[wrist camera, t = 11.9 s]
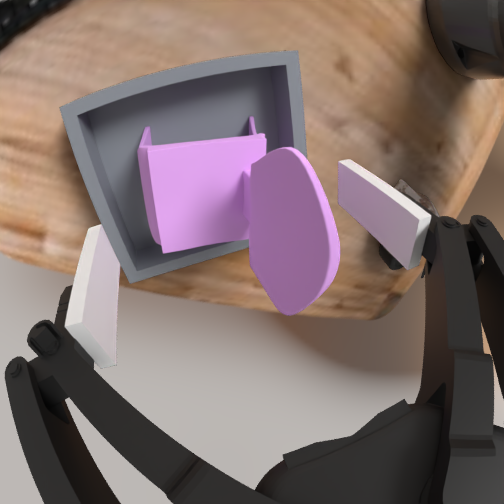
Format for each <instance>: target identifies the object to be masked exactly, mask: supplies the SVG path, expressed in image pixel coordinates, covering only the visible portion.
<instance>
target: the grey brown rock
mask: <svg viewBox="0 0 504 504" xmlns="http://www.w3.org/2000/svg"><path fill="white" fill-rule="evenodd" d="M394 189H396V190H397V191H400V192H403V193H405V194H407V195H409V196H411V197H412V198H414V199H415V200H416V201H418V202H419V203H421V205H423V206H425V207H426V208H427V209H429V210H430V211H431V212H433V213H434V214H435V215H436V216H438V217H440V216H439V214H438V212H437V210H436V209H435V207H434V205H433V204H432V202H431V201H430V200H429V199H428V198H427V197H426V196H424V195H423V194H421V193H416V192H415V191H414V190H413V189H412V188H411V187H410V186H409V185H408V184H407V183H405V182H404V181H403V180H402V179H400V180H399V181H398V183H397V184H396V186H395V188H394ZM379 254H380V256H381V258H382V259H383V260H384V262H385V263H386V264H387V265H388V267H389V268H390V269H392V270H397V269H400V268H402V267H404V266H403V265H402V264H401V263H400V262H399V261H398V260H397V259H396V258H395V257H394V256H393V255H392V254H391V253H390V252H389V251H388V250H387V249H386V248H385V247H384V246H383V245H382V244H381V246H380V250H379Z"/></svg>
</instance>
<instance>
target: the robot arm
mask: <svg viewBox="0 0 504 504" xmlns="http://www.w3.org/2000/svg"><path fill="white" fill-rule="evenodd" d="M426 5H427V14H428V20H429V24H430V28H431V31H432V35H433V37H434V40H435V43H436V45H437V47H438V49H439V51H440V53H441V55H442V56H443V58H444V60H445V61H446V62H447V64H448V65H449V66H450V67H451V68H452V69H453V70H454V71H455V72H457V73H458V74H460V75H463V76H467V77H470V78H474V79H479V80H483V79H503V78H504V0H426ZM338 204H339V205H340V206H341V207H343V208H344V209H345V210H346V211H347V212H348V213H349V214H350V215H351V216H352V217H353V218H355V219H356V220H357V221H358V222H359V223H360V224H361V225H362V226H363V227H364V228H365V229H366V230H367V231H368V232H369V233H370V234H372V235H373V236H374V237H375V238H376V239H377V240H378V241H379V242H380V243H381V244H382V245H383V246H384V247H385V248H386V249H387V250H388V251H389V252H390V253H391V254H392V255H393V256H394V257H395V258H396V259H397V260H398V261H399V262H400V263H401V264H402V265H403V266H404V267H405V268H406V269H407V270H409V269H412V268H414V267H416V266H419V263H420V260H421V256H422V255H423V256H424V257H425V258H426V259H427V260H426V263H425V266H424V269H423V273H422V276H421V278H423V277H424V275H425V287H426V317H425V342H424V357H423V369H422V378H421V386H420V391H419V393H418V396H417V398H416V401H415V403H414V404H407V402H406V401H405V399H403V400H402V401H400V402H398V403H397V404H395V405H393V406H391V407H389V408H388V409H386V410H384V411H382V412H380V413H378V414H377V415H376V416H375V417H374V418H373V419H372V420H370V421H369V422H368V423H367V424H366V425H365V426H363V427H362V428H361V429H360V430H359V431H357V432H356V433H355V434H354V435H352V436H349V437H344V438H339V439H334V440H328V441H323V442H316V443H313V444H311V445H308V446H306V447H303V448H300V449H298V450H295V451H292V452H289V453H287V454H283V459H284V460H283V461H281V462H280V463H278V464H277V465H276V466H274V467H273V468H272V469H270V470H269V471H268V472H267V474H265V475H264V477H263V478H262V479H261V481H260V482H259V484H258V485H257V487H256V489H255V490H253V489H251V488H249V487H247V486H245V485H244V484H242V483H240V482H238V481H237V480H235V479H233V478H232V477H230V476H228V475H226V474H225V473H223V472H222V471H220V470H218V469H217V468H215V467H214V466H212V465H210V464H209V463H207V462H206V461H204V460H203V459H201V458H200V457H198V456H196V455H195V454H194V453H192V452H191V451H189V450H188V449H186V448H185V447H184V446H182V445H181V444H179V443H178V442H177V441H175V440H174V439H173V438H171V437H170V436H169V435H167V434H166V433H165V432H163V431H162V430H161V429H159V428H158V427H157V426H156V425H154V424H153V423H152V422H151V421H150V420H148V419H147V418H146V417H145V416H144V415H142V414H141V413H140V412H139V411H138V410H137V409H135V408H134V407H133V406H132V405H131V404H130V403H129V402H127V401H126V400H125V399H124V398H123V397H122V396H121V395H120V394H119V393H117V392H116V391H115V390H114V389H113V388H112V387H111V386H110V385H109V384H108V383H107V382H106V381H105V380H104V379H103V378H102V377H101V376H100V375H99V374H98V373H97V372H96V371H95V370H94V362H95V363H96V364H97V365H98V366H99V367H100V368H106V367H111V366H115V365H117V355H116V354H117V351H116V350H117V349H116V348H117V342H116V341H117V307H118V290H119V276H120V263H119V261H118V259H117V257H116V255H115V253H114V251H113V248H112V246H111V244H110V242H109V240H108V238H107V236H106V233H105V231H104V229H103V227H102V224H100V225H97V226H94V227H91V228H89V229H88V232H87V235H86V238H85V242H84V245H83V249H82V252H81V256H80V259H79V263H78V267H77V271H76V275H75V279H74V283H73V285H71V286H68V287H66V288H65V290H64V292H63V293H62V295H61V297H60V301H59V307H58V310H57V314H56V318H55V323H54V324H53V323H52V322H51V321H50V320H42V321H40V322H38V323H37V324H36V325H34V327H33V328H32V329H31V330H30V333H29V334H28V338H27V342H28V345H29V346H30V347H31V349H32V350H33V351H34V352H35V353H36V354H37V355H38V357H36V358H34V359H33V360H31V361H29V362H27V361H26V360H25V359H24V358H23V357H16V358H14V359H12V361H10V362H9V364H8V365H7V367H6V371H5V381H6V386H7V392H8V397H9V401H10V406H11V410H12V414H13V418H14V422H15V425H16V429H17V432H18V436H19V439H20V442H21V446H22V449H23V452H24V455H25V457H26V460H27V463H28V465H29V468H30V471H31V474H32V476H33V479H34V481H35V484H36V486H37V488H38V490H39V493H40V495H41V497H42V499H43V502H44V504H121V503H120V502H119V501H118V499H117V498H116V496H115V495H114V493H113V491H112V490H111V488H110V487H109V485H108V483H107V482H106V480H105V479H104V477H103V475H102V474H101V472H100V470H99V469H98V467H97V465H96V463H95V462H94V460H93V458H92V456H91V454H90V452H89V450H88V449H87V447H86V445H85V443H84V441H83V439H82V437H81V435H80V433H79V431H78V429H77V426H76V424H75V422H74V420H73V418H72V416H71V413H70V411H69V409H68V407H67V404H66V402H65V399H67V398H68V397H70V399H71V400H72V401H73V402H74V404H75V405H76V406H77V408H78V409H79V410H80V411H81V412H82V413H83V415H84V416H85V417H86V418H87V419H88V420H89V422H90V423H91V424H92V425H93V426H94V427H95V428H96V429H97V430H98V431H99V433H100V434H101V435H102V436H103V437H104V438H105V439H106V440H107V441H108V442H109V443H110V444H111V445H112V446H113V447H114V448H115V449H116V450H117V451H118V452H119V453H120V454H121V455H122V456H123V457H124V458H125V459H126V460H127V461H129V463H131V464H132V465H133V466H134V467H135V468H136V469H137V470H138V471H140V472H141V473H142V474H143V475H144V476H145V477H146V478H148V479H149V480H150V481H151V482H152V483H154V484H155V485H156V486H157V487H158V488H160V489H161V490H162V491H163V492H164V493H165V494H166V496H167V498H168V499H169V500H170V501H171V502H172V503H173V504H504V428H503V427H500V426H496V425H493V419H494V417H493V416H494V372H493V361H494V365H495V369H496V373H497V377H498V381H499V385H500V388H501V392H502V396H503V399H504V240H503V238H502V237H501V235H500V234H499V232H498V231H497V229H496V228H495V227H494V225H493V224H492V222H490V220H488V219H487V218H486V217H484V216H480V215H473V216H472V217H471V220H470V223H469V224H464V225H461V224H460V223H459V222H458V221H457V220H455V219H454V218H451V217H448V216H442V217H438V216H436V215H435V214H434V213H433V212H431V211H430V210H429V209H427V208H426V207H425V206H423V205H421V203H419V202H418V201H416V200H415V199H414V198H412V197H411V196H409V195H407V194H405V193H403V192H400V191H397V190H396V189H394V188H393V187H392V186H390V185H389V184H387V183H386V182H384V181H383V180H381V179H380V178H378V177H377V176H375V175H374V174H372V173H371V172H369V171H368V170H366V169H364V168H363V167H361V166H360V165H358V164H357V163H355V162H353V161H352V160H350V159H347V160H342V161H338ZM483 255H484V264H483V262H482V257H483ZM481 323H482V326H483V329H484V332H485V335H486V338H487V341H488V344H489V347H490V351H491V354H492V356H491V355H490V354H485V353H484V351H483V338H482V328H481ZM492 358H493V360H492Z"/></svg>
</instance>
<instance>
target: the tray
mask: <svg viewBox="0 0 504 504" xmlns="http://www.w3.org/2000/svg"><path fill="white" fill-rule="evenodd" d="M59 108H60V111H61V115H62V118H63V121H64V125H65V128H66V131H67V134H68V137H69V140H70V144H71V147H72V149H73V152H74V155H75V158H76V161H77V164H78V167H79V169H80V172H81V175H82V177H83V180H84V183H85V185H86V188H87V190H88V193H89V195H90V198H91V200H92V203H93V205H94V208H95V210H96V212H97V215H98V217H99V219H100V222H101V224H102V226H103V229H104V231H105V233H106V235H107V237H108V240H109V242H110V244H111V246H112V248H113V250H114V252H115V254H116V257H117V259H118V261H119V263H120V265H121V267H122V269H123V271H124V273H125V275H126V277H127V279H128V281H129V282H130V284H131V283H134V282H137V281H141V280H144V279H147V278H150V277H154V276H157V275H160V274H163V273H167V272H170V271H173V270H176V269H180V268H183V267H186V266H189V265H193V264H196V263H199V262H203V261H206V260H209V259H212V258H216V257H219V256H222V255H226V254H229V253H232V252H235V251H239V250H242V249H245V248H249V239H246V240H238V241H230V242H222V243H216V244H210V245H205V246H200V247H195V248H191V249H186V250H181V251H175V252H170V253H164V254H163V251H162V246H161V245H159V244H157V243H156V242H155V240H154V238H153V236H152V234H151V231H150V227H149V223H148V218H147V213H146V207H145V201H144V195H143V189H142V182H141V176H140V169H139V161H138V154H137V150H138V148H139V145H140V142H141V139H142V135H143V132H144V129H145V127H147V126H150V132H151V142H152V146H153V145H165V144H173V143H182V142H192V141H202V140H212V139H221V138H230V137H240V136H249V116H253V117H254V124H255V129H256V133H257V134H259V133H263V134H265V138H266V139H267V140H266V154H268V153H269V152H271V151H273V150H276V149H278V148H283V147H292V148H295V149H297V150H298V151H299V152H301V153H302V154H303V155H304V156H305V158H306V159H307V149H306V134H305V120H304V107H303V95H302V84H301V74H300V64H299V55H298V51H276V52H265V53H255V54H247V55H239V56H232V57H226V58H220V59H214V60H208V61H203V62H198V63H193V64H189V65H184V66H180V67H175V68H171V69H167V70H163V71H159V72H156V73H152V74H148V75H145V76H142V77H138V78H135V79H132V80H129V81H125V82H122V83H119V84H116V85H113V86H111V87H108V88H105V89H102V90H100V91H97V92H94V93H92V94H89V95H87V96H84V97H82V98H79V99H77V100H74V101H72V102H70V103H68V104H66V105H64V106H62V107H59Z"/></svg>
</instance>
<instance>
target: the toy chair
mask: <svg viewBox="0 0 504 504" xmlns="http://www.w3.org/2000/svg"><path fill="white" fill-rule="evenodd" d="M266 140H267V139H266V138H265V134H263V133H259V134H257V133H256V129H255V124H254V117H253V116H249V136H240V137H230V138H221V139H212V140H202V141H192V142H182V143H173V144H165V145H153V146H152V142H151V132H150V126H147V127H145V129H144V132H143V135H142V139H141V142H140V145H139V148H138V150H137V154H138V161H139V169H140V176H141V182H142V189H143V195H144V201H145V207H146V213H147V218H148V223H149V227H150V231H151V234H152V236H153V238H154V240H155V242H156V243H157V244H159V245H161V246H162V251H163V254H164V253H170V252H175V251H181V250H186V249H191V248H195V247H200V246H205V245H210V244H216V243H222V242H230V241H238V240H246V239H249V256H250V267H251V268H252V270H253V271H254V273H255V275H256V276H257V278H258V279H259V281H260V283H261V284H262V286H263V288H264V289H265V291H266V292H267V294H268V296H269V297H270V299H271V300H272V302H273V304H274V305H275V306H276V308H277V309H278V310H279V311H280V312H281V313H282V314H285V315H288V316H289V315H294V314H296V313H298V312H300V311H302V310H304V309H305V308H306V307H307V306H309V305H310V304H311V303H313V302H314V301H315V300H316V299H317V298H318V297H319V296H320V295H321V294H322V293H324V291H325V290H326V289H327V288H328V287H329V286H330V284H331V283H332V281H333V280H334V278H335V275H336V273H337V270H338V266H339V261H340V243H339V237H338V232H337V228H336V225H335V221H334V218H333V215H332V212H331V209H330V206H329V203H328V200H327V198H326V195H325V193H324V191H323V188H322V186H321V184H320V181H319V179H318V177H317V175H316V174H315V172H314V170H313V168H312V166H311V165H310V163H309V162H308V160H307V159H306V158H305V156H304V155H303V154H302V153H301V152H299V151H298V150H297V149H295V148H292V147H283V148H278V149H276V150H273V151H271V152H269V153H268V154H266Z"/></svg>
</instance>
